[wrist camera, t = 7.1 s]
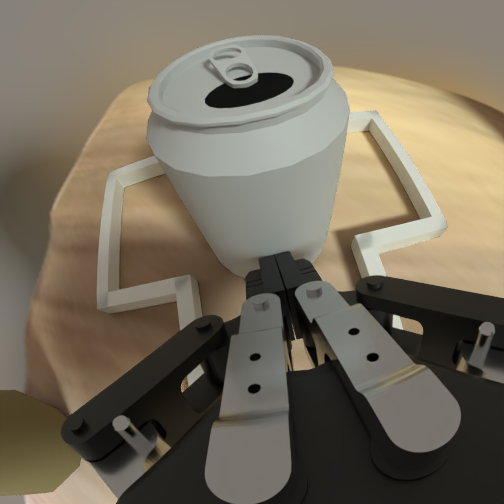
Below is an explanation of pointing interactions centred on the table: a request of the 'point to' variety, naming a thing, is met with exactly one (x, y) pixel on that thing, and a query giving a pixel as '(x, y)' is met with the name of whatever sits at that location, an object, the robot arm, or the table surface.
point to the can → (252, 144)
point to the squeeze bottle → (32, 446)
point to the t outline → (187, 286)
